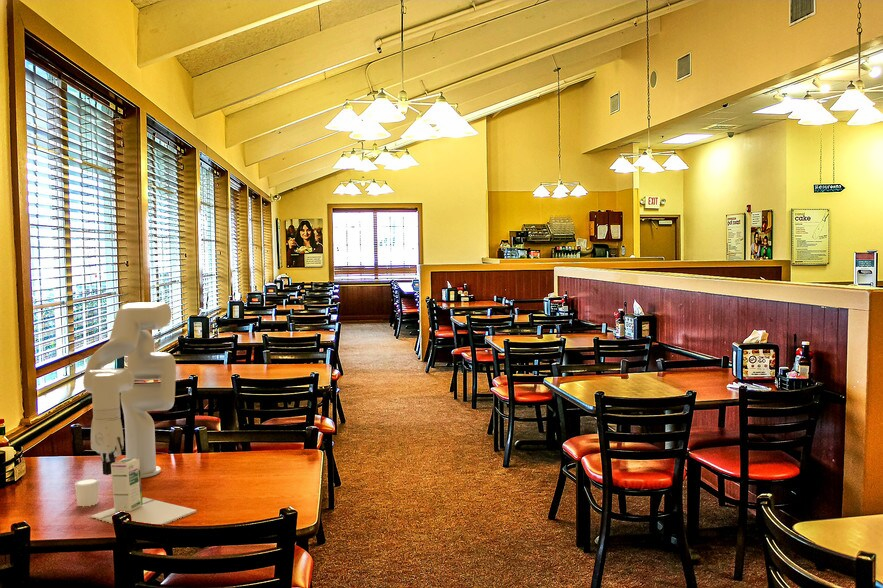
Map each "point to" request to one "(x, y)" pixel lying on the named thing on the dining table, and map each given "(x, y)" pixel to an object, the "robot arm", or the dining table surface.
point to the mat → (150, 512)
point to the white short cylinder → (87, 492)
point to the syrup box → (126, 484)
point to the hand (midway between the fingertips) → (109, 473)
